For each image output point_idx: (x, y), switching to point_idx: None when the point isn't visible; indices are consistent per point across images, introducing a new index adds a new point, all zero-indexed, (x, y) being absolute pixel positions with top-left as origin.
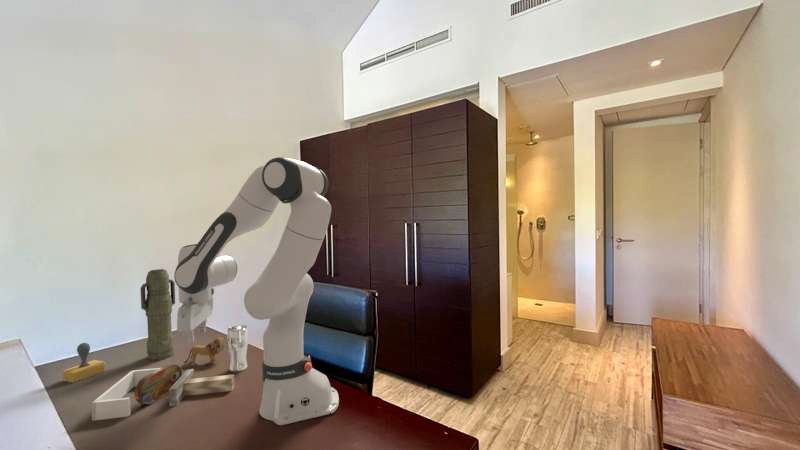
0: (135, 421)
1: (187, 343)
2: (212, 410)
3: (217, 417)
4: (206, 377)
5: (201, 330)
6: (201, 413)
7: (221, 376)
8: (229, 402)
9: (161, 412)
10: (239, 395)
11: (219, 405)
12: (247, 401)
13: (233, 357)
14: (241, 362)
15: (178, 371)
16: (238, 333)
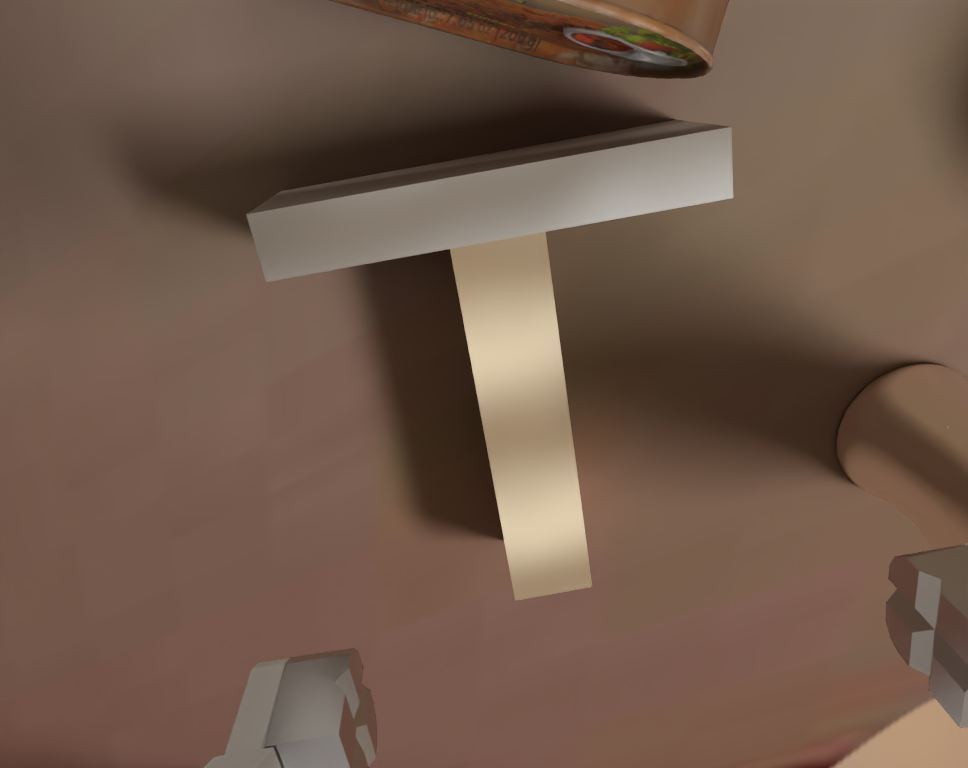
0: (21, 42)
1: (257, 665)
2: (233, 537)
3: (155, 602)
4: (560, 393)
5: (937, 638)
6: (191, 489)
7: (563, 509)
8: (338, 591)
9: (177, 186)
10: (430, 611)
11: (298, 550)
12: None
13: (923, 481)
14: (892, 504)
15: (683, 54)
16: None
